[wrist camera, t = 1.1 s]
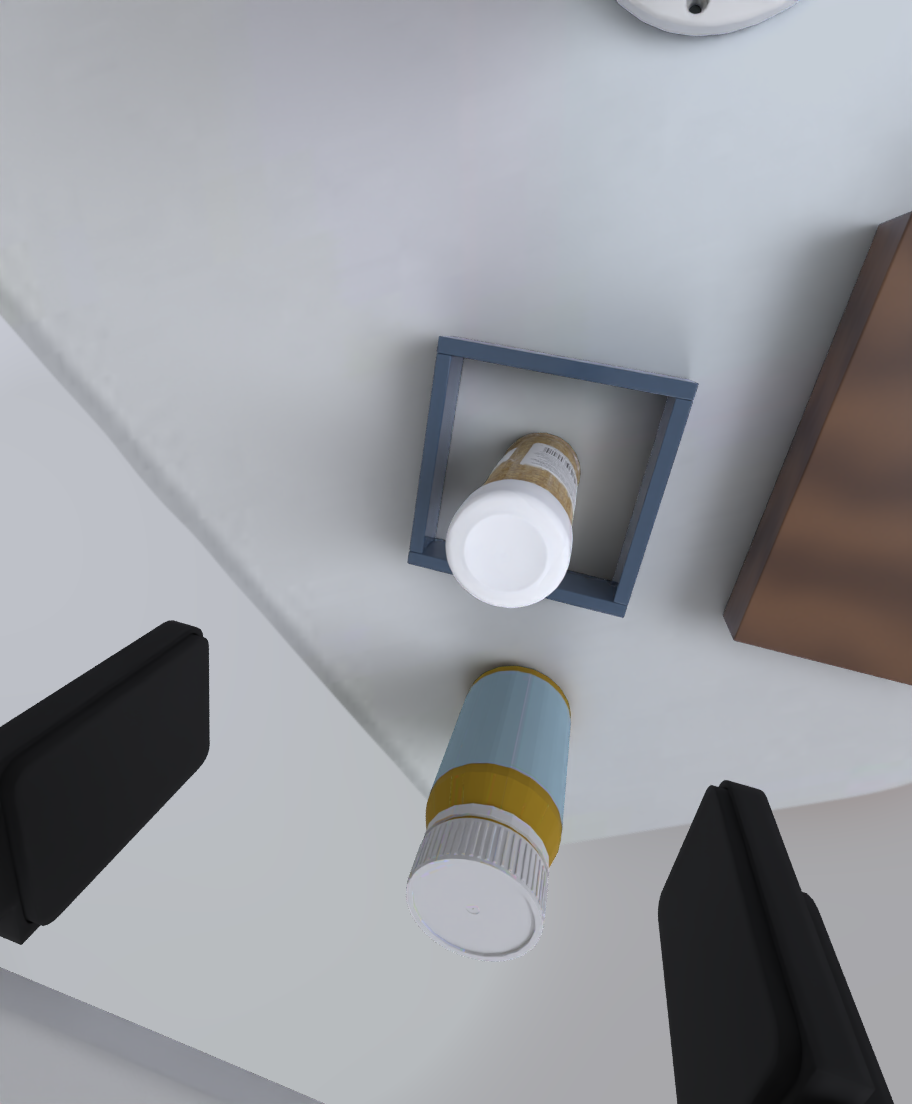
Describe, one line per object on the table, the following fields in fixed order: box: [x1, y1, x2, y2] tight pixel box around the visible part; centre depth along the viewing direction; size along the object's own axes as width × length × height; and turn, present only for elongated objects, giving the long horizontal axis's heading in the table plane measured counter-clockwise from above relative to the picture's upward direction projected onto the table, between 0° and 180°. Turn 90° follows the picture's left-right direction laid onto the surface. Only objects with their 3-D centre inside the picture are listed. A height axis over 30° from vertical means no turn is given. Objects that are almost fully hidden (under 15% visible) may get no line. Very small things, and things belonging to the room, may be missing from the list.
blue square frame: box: [408, 336, 698, 618], centre depth 31 cm, size 13×13×3 cm
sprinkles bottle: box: [446, 433, 580, 608], centre depth 26 cm, size 5×5×13 cm
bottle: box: [406, 666, 571, 962], centre depth 31 cm, size 7×7×15 cm
